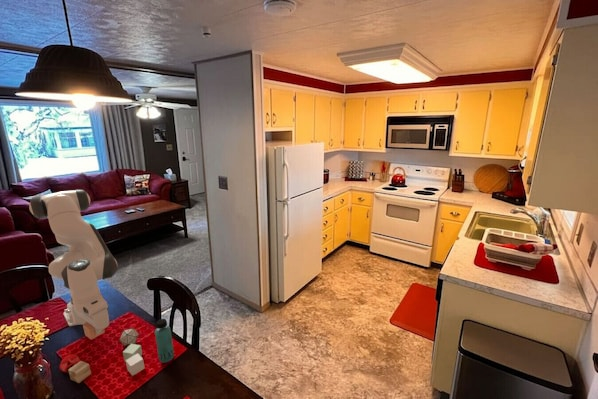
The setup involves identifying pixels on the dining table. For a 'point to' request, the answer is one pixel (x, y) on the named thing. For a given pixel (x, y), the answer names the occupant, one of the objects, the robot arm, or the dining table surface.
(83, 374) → the block oak
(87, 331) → the block terracotta
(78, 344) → the dining table surface
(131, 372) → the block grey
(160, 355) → the beverage bottle
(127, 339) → the game die
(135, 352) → the block sage
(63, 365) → the cap
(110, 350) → the dining table surface
